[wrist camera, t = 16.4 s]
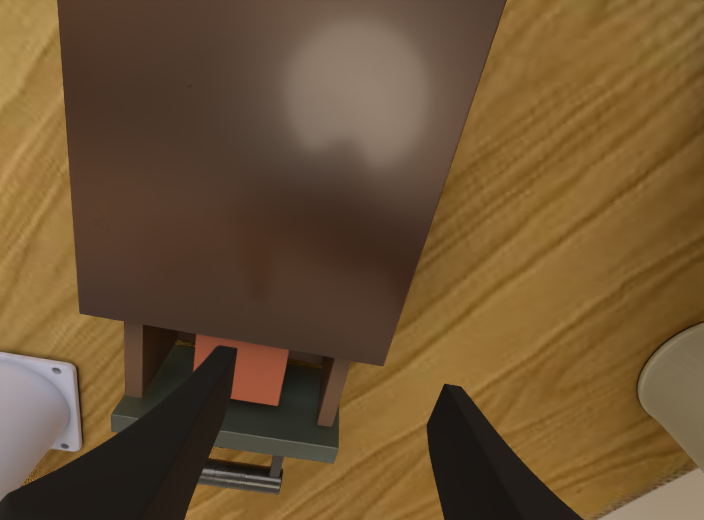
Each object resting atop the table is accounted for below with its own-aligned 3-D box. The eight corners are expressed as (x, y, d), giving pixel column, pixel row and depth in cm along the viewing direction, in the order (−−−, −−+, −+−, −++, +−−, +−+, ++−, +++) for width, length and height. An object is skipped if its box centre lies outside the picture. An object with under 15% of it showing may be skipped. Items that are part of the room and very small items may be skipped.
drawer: (321, 440, 28) (315, 523, 23) (157, 415, 27) (113, 497, 22) (390, 190, 21) (406, 231, 15) (166, 139, 19) (101, 166, 14)
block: (288, 352, 24) (277, 406, 20) (216, 339, 23) (191, 392, 19) (301, 291, 22) (291, 338, 18) (223, 276, 21) (196, 321, 18)
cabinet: (372, 282, 24) (383, 366, 17) (157, 240, 23) (78, 313, 16) (453, 4, 18) (518, -32, 11) (165, -77, 16) (43, -174, 10)
